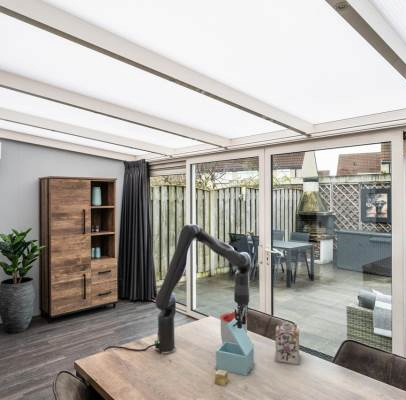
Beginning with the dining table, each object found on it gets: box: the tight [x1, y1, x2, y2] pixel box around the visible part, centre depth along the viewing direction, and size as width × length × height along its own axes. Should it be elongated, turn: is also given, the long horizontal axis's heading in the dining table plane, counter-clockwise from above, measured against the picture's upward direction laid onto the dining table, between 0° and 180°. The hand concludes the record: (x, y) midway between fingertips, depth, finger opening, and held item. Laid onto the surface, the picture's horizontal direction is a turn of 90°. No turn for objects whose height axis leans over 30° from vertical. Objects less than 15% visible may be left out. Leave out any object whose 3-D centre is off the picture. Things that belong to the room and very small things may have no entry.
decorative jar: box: [274, 322, 300, 365], centre depth 174 cm, size 12×12×18 cm
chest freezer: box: [215, 342, 255, 376], centre depth 166 cm, size 16×13×9 cm
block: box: [214, 369, 229, 386], centre depth 152 cm, size 4×4×4 cm
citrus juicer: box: [219, 311, 248, 344], centre depth 190 cm, size 16×17×20 cm
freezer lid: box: [227, 318, 255, 356], centre depth 164 cm, size 16×13×5 cm
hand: (241, 325), depth 165 cm, fingers closed on freezer lid, 5 cm apart
